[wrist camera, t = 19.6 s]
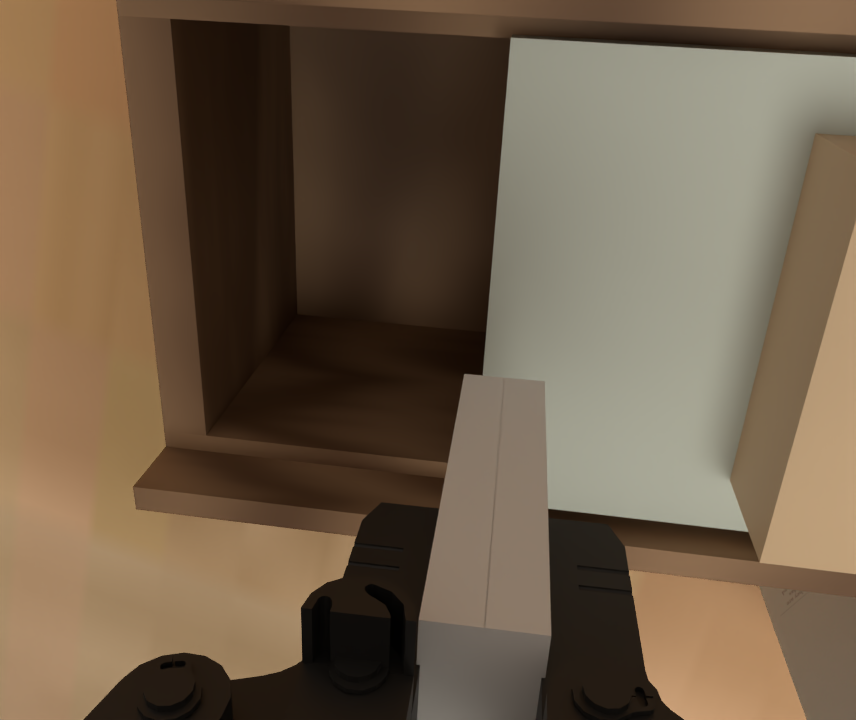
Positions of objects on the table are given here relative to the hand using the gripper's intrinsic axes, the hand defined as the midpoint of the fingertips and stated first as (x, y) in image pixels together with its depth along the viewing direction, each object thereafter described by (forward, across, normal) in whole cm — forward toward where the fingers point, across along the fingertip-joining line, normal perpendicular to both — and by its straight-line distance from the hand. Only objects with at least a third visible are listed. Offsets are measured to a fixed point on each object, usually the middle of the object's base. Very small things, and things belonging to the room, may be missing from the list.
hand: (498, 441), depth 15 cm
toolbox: (+15, +1, +2) cm, 15 cm away
